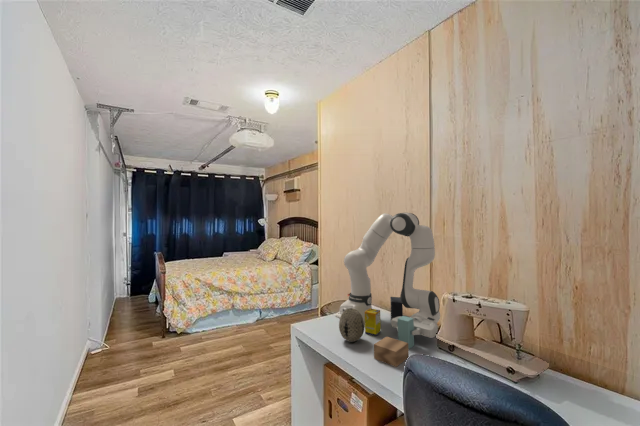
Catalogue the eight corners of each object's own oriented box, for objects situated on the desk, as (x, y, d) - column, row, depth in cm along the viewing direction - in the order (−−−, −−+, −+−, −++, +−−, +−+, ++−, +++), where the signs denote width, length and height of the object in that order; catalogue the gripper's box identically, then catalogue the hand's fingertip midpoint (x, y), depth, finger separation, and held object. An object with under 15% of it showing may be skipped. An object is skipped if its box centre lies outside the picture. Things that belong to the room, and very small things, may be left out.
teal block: (398, 345, 129) (397, 318, 129) (403, 342, 132) (403, 315, 132) (408, 349, 125) (407, 321, 125) (414, 345, 129) (413, 318, 129)
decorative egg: (368, 338, 137) (367, 306, 137) (358, 348, 127) (357, 314, 127) (346, 333, 143) (345, 303, 143) (334, 342, 133) (333, 310, 133)
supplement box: (370, 329, 148) (369, 308, 148) (381, 332, 144) (380, 309, 144) (364, 333, 143) (364, 311, 143) (376, 336, 139) (375, 313, 139)
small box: (403, 321, 157) (402, 302, 157) (391, 321, 159) (390, 301, 159) (401, 315, 168) (401, 296, 168) (390, 314, 169) (389, 296, 169)
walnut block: (374, 359, 118) (373, 344, 118) (387, 350, 125) (386, 336, 125) (396, 367, 111) (396, 351, 111) (408, 357, 118) (408, 343, 118)
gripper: (399, 311, 145) (384, 318, 135) (440, 321, 131) (426, 330, 121) (399, 323, 145) (384, 332, 135) (440, 335, 131) (427, 345, 121)
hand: (404, 331), depth 128 cm, fingers closed on teal block, 5 cm apart
